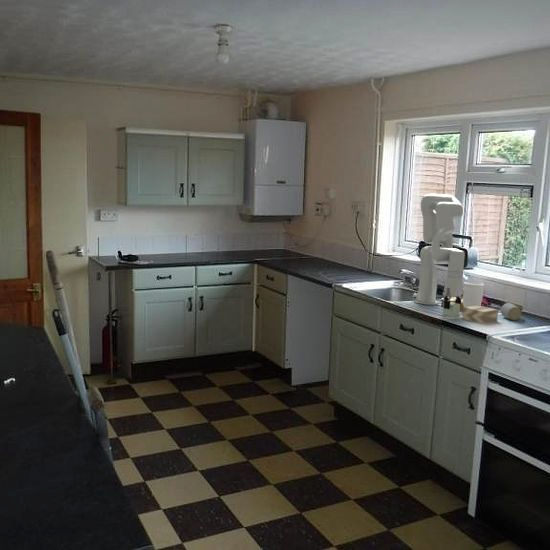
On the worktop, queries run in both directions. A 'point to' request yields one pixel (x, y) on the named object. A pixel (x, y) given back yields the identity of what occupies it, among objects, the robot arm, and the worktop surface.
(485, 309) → the birch block
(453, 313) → the sage tub
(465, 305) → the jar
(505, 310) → the ceramic mug
